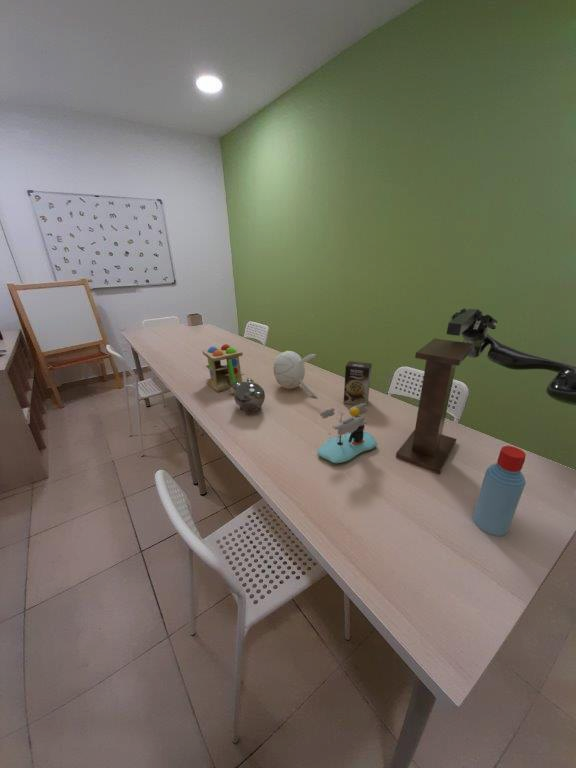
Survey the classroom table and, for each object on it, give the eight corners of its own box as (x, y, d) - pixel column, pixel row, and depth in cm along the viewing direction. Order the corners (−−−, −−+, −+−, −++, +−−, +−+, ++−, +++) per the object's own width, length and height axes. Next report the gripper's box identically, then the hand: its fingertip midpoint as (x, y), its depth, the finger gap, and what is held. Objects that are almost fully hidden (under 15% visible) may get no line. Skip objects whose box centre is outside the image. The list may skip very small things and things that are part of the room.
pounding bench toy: (254, 391, 133) (251, 352, 126) (224, 399, 126) (219, 359, 119) (234, 375, 151) (230, 340, 144) (206, 382, 144) (201, 346, 137)
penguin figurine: (360, 431, 101) (363, 390, 94) (384, 447, 92) (389, 404, 86) (310, 450, 92) (310, 407, 86) (332, 470, 83) (333, 423, 77)
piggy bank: (251, 398, 126) (249, 373, 121) (273, 411, 115) (271, 384, 111) (228, 407, 119) (224, 381, 115) (248, 421, 109) (246, 393, 104)
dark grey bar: (477, 319, 93) (479, 309, 91) (459, 335, 76) (461, 324, 75) (466, 318, 94) (468, 308, 93) (446, 334, 78) (448, 322, 76)
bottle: (509, 520, 66) (535, 451, 59) (506, 541, 62) (532, 469, 54) (475, 506, 70) (495, 440, 63) (469, 525, 66) (490, 455, 58)
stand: (455, 443, 93) (479, 343, 80) (439, 474, 81) (464, 361, 68) (416, 430, 100) (431, 337, 87) (395, 457, 88) (410, 352, 75)
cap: (522, 464, 60) (526, 450, 58) (520, 474, 57) (525, 460, 56) (498, 456, 62) (502, 443, 61) (495, 466, 59) (499, 452, 58)
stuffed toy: (262, 352, 132) (303, 356, 114) (285, 347, 141) (326, 350, 123) (266, 393, 137) (305, 403, 119) (287, 386, 146) (327, 394, 128)
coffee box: (342, 403, 119) (344, 365, 113) (346, 396, 125) (348, 360, 118) (366, 407, 116) (369, 368, 110) (368, 400, 122) (372, 362, 115)
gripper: (494, 344, 98) (494, 326, 84) (448, 338, 107) (440, 321, 93) (501, 322, 98) (502, 301, 84) (454, 318, 107) (447, 298, 93)
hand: (470, 312), depth 89 cm, fingers closed on dark grey bar, 3 cm apart
